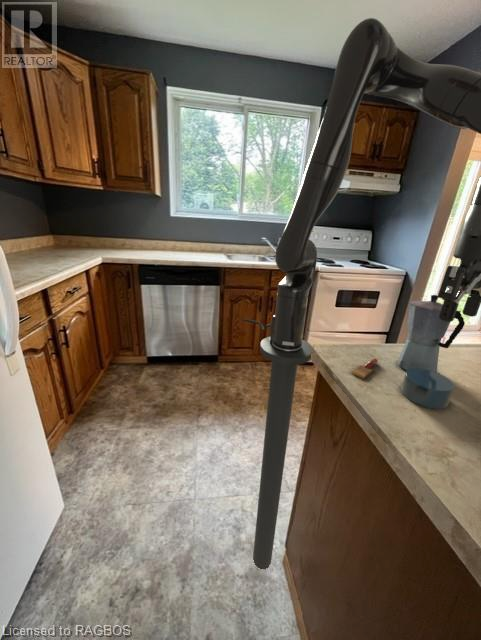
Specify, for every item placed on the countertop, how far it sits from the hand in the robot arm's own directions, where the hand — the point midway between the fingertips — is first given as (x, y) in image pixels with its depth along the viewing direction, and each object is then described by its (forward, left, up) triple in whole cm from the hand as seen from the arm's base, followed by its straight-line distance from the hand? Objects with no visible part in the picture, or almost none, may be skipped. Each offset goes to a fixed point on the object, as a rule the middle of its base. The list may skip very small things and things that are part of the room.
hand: (457, 317), depth 54 cm
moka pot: (-6, +12, -19) cm, 23 cm away
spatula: (-15, +1, -19) cm, 24 cm away
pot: (-1, -1, -19) cm, 19 cm away
